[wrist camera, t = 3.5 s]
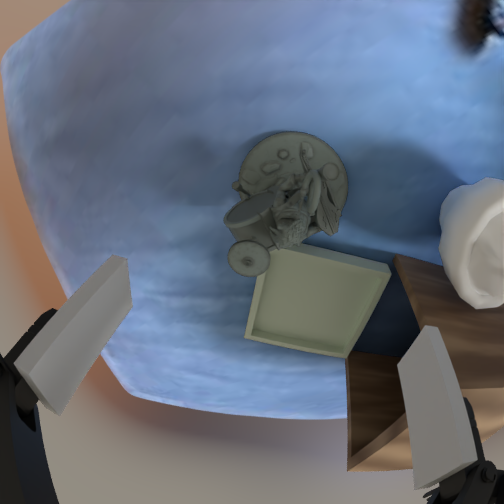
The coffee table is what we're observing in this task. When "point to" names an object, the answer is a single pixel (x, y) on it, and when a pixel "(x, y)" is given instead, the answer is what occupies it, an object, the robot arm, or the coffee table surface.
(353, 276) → the tray
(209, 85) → the coffee table surface
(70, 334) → the robot arm
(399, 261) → the shelf
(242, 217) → the figurine
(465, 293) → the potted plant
